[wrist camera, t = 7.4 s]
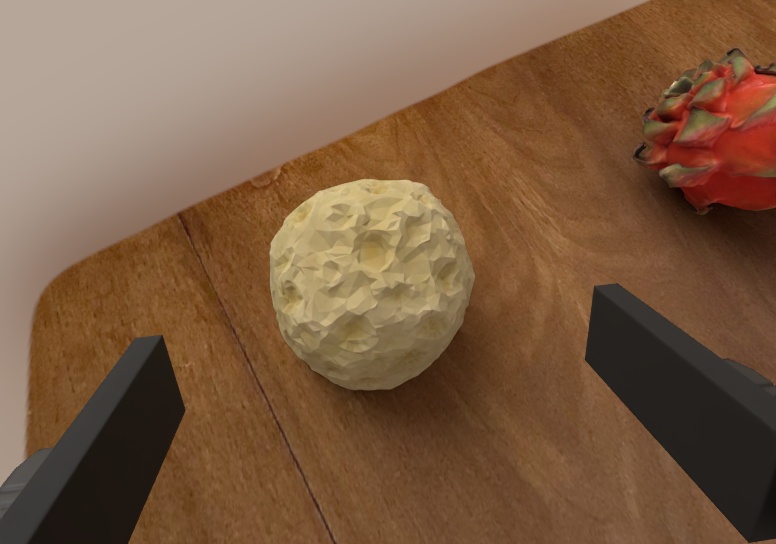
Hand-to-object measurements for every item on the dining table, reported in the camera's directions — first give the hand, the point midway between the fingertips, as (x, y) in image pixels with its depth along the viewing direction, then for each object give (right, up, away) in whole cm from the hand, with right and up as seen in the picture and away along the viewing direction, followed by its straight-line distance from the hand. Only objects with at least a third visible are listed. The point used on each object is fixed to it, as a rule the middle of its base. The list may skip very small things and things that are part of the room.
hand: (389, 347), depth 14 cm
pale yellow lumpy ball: (-1, 0, +11) cm, 11 cm away
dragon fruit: (+20, +8, +15) cm, 26 cm away
